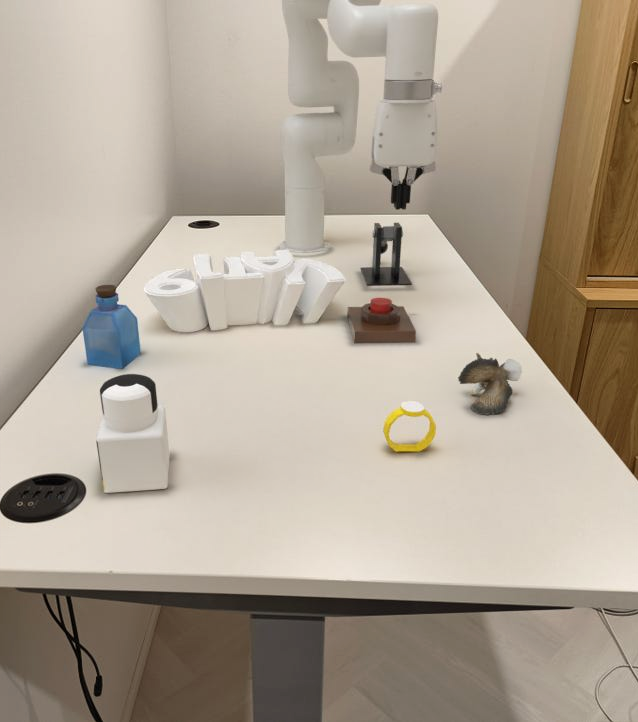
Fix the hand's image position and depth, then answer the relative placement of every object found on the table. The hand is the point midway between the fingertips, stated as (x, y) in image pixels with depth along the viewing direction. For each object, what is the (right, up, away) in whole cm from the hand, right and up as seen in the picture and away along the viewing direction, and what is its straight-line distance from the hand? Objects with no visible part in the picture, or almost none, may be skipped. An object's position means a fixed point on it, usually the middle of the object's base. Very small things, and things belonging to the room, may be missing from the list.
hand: (399, 207), depth 115 cm
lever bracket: (+3, -9, +28) cm, 29 cm away
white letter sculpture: (-27, -18, +10) cm, 34 cm away
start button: (-3, -17, +1) cm, 18 cm away
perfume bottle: (-47, -26, -6) cm, 54 cm away
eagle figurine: (+7, -32, -22) cm, 39 cm away
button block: (-3, -21, +2) cm, 21 cm away
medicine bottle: (-38, -39, -36) cm, 66 cm away
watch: (-6, -37, -33) cm, 50 cm away
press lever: (+3, -2, +28) cm, 29 cm away
